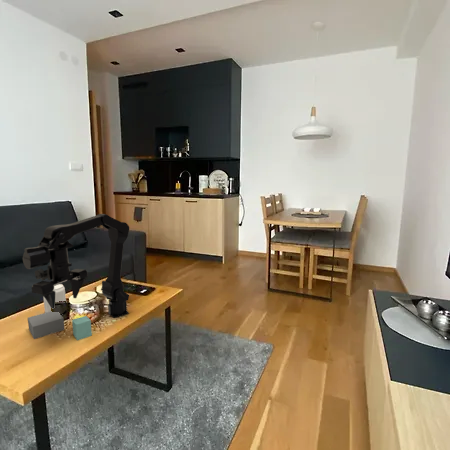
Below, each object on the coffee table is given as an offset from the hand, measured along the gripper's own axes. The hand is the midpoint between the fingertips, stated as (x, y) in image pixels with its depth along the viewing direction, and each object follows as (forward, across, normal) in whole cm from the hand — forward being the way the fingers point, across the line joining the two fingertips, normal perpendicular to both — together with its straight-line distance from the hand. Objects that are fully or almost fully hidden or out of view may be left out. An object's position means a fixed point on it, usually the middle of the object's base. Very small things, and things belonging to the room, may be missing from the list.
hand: (64, 303), depth 107 cm
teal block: (+13, -2, +5) cm, 14 cm away
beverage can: (+13, -11, -20) cm, 26 cm away
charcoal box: (+13, 0, -11) cm, 17 cm away
